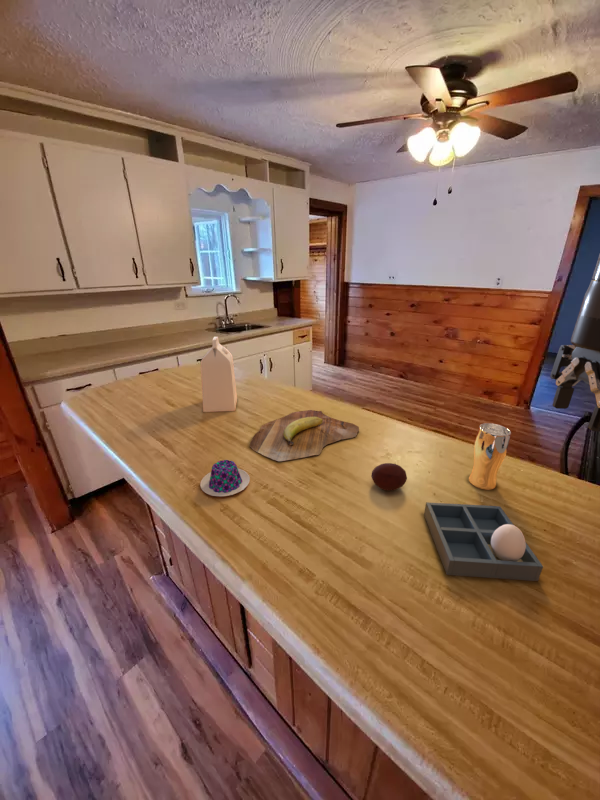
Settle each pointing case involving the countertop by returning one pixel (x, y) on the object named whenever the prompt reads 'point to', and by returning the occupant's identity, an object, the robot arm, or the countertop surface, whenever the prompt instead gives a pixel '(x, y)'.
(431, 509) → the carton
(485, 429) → the beer glass
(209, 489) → the pudding
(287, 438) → the cutting board
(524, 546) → the egg
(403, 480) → the potato
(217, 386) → the milk
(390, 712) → the countertop surface
